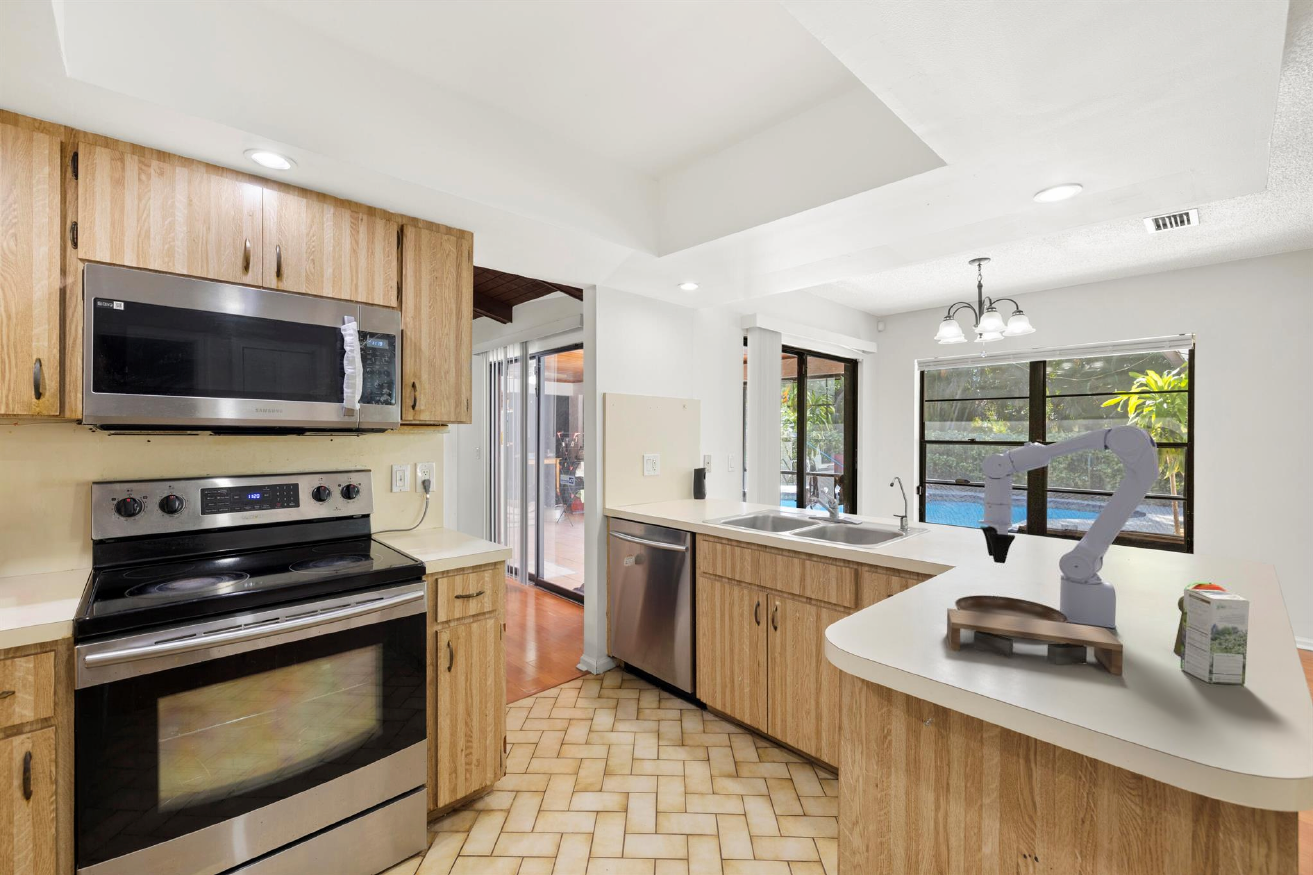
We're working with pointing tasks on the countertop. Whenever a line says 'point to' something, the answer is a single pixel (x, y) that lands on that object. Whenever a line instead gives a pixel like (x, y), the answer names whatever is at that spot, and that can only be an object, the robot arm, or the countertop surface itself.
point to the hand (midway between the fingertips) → (996, 559)
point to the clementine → (1206, 586)
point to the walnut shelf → (1036, 637)
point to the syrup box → (1214, 636)
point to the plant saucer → (1010, 608)
